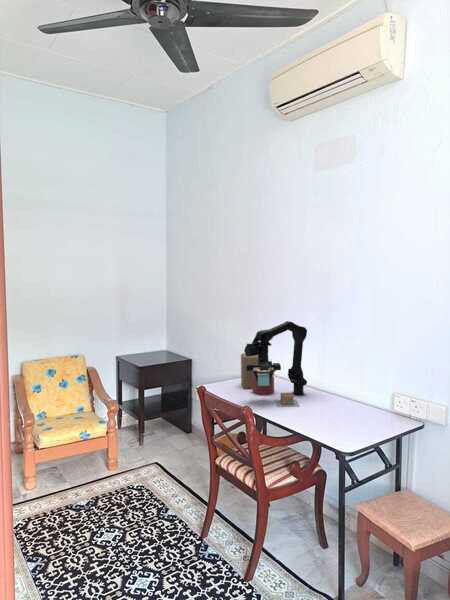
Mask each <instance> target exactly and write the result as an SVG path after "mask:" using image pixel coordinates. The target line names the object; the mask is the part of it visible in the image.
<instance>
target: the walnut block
mask: <svg viewBox="0 0 450 600" xmlns="http://www.w3.org/2000/svg"><path fill="white" fill-rule="evenodd" d="M292 392H293V391H291V392H280V400H281V403H282V405H293V400H294V395H293V393H292Z"/></svg>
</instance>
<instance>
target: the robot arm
mask: <svg viewBox="0 0 450 600" xmlns="http://www.w3.org/2000/svg"><path fill="white" fill-rule="evenodd" d="M287 331H289V332H291V333H292V334H291V336H292V339H293V354H292V355H293V356H292V365H291V367H290V368H288V369H287V377H288V379H289V380H290V383H292V384H293V391H291V392H292V394H293V396H306V394H305V393H304V388H305V387H304V386H306V385H307V383H308V381H307V380H306V378H305V377H304V371H303V368H302V358H303V349H304V348H303V347H304V342H305V340H306V339H307V335H308V329H307V328H306V327H305V326H301V325H298V324H296V323H294V322H293V321H289V320H287V321H285V322H283V323H281V324H279V325H276V326H273V327H271V328H270V329H262V330H258V331H257V332H256V334H255V336H254V338H253V340H252V341H251V343H246V346H245V347H244V353H245V355H246V356H247V357H248V356H255V355H258V365H253V363H247V364H246V371H251V372H253V373H254V374H255V377H256V380H257V382H258V376H257V370H256V369H260V371H265V370H266V371H268V370H269V368H270V370H269V382H270V380H271V377H272V374H273V372H274V373H275V372H276V371H281V369H282V367H281V366H282V365H281V363H280V362H273V360H269V347H270V346H272V343H271V342H270V341H271V340H272V339H273V338H274V337H275V336H276V337H277V335H280V334H282V333H284V332H287Z"/></svg>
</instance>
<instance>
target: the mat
mask: <svg viewBox="0 0 450 600" xmlns="http://www.w3.org/2000/svg"><path fill="white" fill-rule="evenodd" d="M274 403H275V405H276V407H277V408H300V407H301V406H300V404H299V402H298V400H297V399H293V405H282V403H281V399H274Z"/></svg>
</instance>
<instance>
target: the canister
mask: <svg viewBox="0 0 450 600" xmlns="http://www.w3.org/2000/svg"><path fill="white" fill-rule="evenodd" d="M256 370H257V376H258V374H269V370H270V368H269V370H268V371H266V370H265V371H260V369H256ZM252 374H253V378H252V380H253V388H251V390H252V393H253V394H254V395H257V396H270V395H273V394H274V393H275V378H274V375H275V372H273V374H272V377H271V380H270V382H269V386H258V382H257V380H256V377H255V374H254V373H253V372H252Z"/></svg>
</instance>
